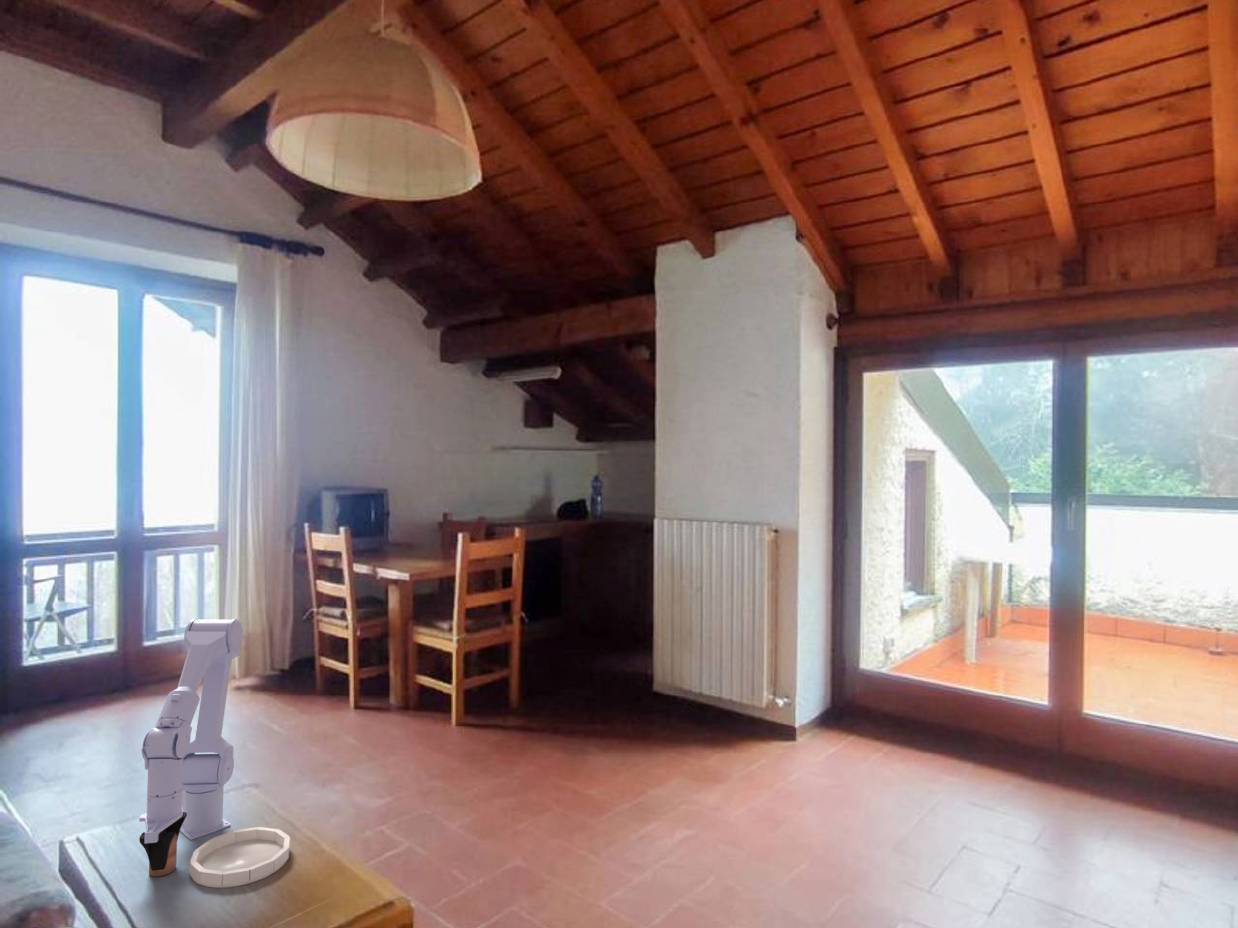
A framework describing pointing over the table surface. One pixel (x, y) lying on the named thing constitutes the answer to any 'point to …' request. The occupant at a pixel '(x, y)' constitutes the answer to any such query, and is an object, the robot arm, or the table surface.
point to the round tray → (239, 857)
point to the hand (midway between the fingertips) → (162, 861)
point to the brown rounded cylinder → (168, 860)
